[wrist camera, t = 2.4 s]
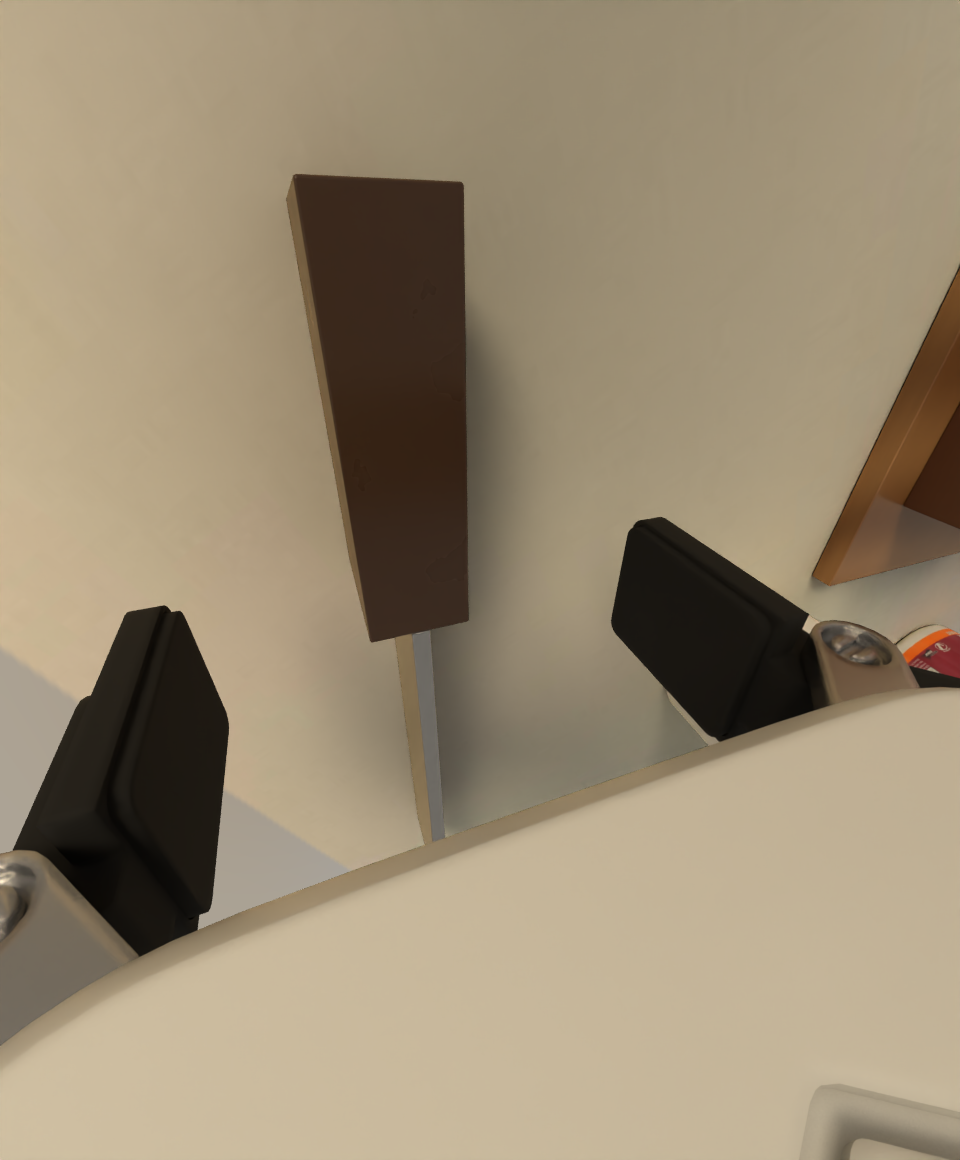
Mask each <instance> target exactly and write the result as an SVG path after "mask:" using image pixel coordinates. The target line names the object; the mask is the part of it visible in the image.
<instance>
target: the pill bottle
mask: <svg viewBox="0 0 960 1160" xmlns="http://www.w3.org/2000/svg"><path fill="white" fill-rule="evenodd" d="M896 646H897V647H898V649H899V650H900V651H901V653H902V654H903V656H904V658H905V660H906V662H907V664H908V665H909V666H913V667H917V668H921V669H925V670H929V671H933V672H937V673H941V674H945V675H949V676H953V677H957V678H960V634H958V633H957V632H955V631H953V630H951V629H949V628H947V627H945V626H942V625H931V626H926V627H923V628H921V629H918V630H916V631H914V632H912V633H911V634H909V635H908V636H906V637H905V638H904V639H902V640H901V641H900V642H899V643H897V644H896Z"/></svg>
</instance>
